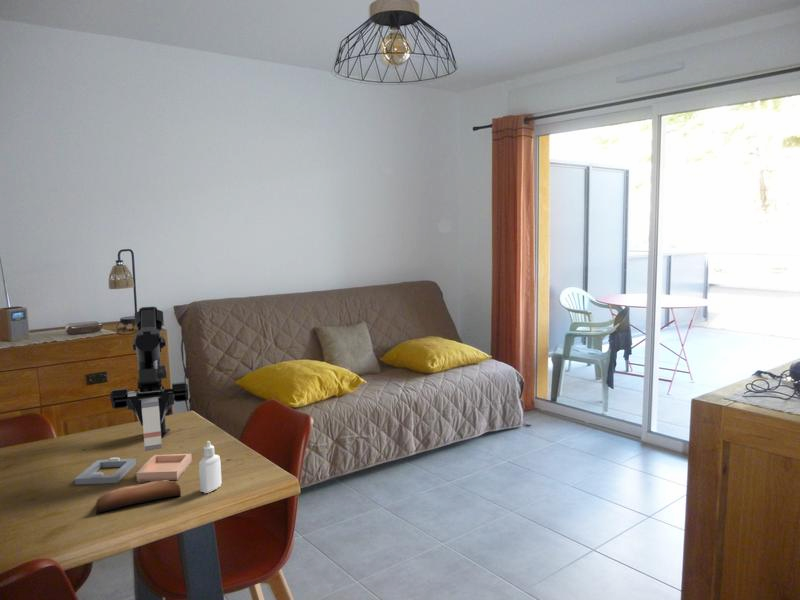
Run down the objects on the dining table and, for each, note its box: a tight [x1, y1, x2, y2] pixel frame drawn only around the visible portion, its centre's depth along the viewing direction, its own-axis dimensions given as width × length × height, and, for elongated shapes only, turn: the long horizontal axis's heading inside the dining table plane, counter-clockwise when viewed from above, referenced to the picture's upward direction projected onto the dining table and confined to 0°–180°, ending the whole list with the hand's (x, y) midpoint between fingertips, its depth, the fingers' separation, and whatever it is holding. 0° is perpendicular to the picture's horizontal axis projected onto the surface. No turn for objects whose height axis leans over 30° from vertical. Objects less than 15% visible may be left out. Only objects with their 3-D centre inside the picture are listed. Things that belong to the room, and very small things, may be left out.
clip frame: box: [74, 457, 137, 485], centre depth 152 cm, size 12×10×2 cm
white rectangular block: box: [141, 397, 163, 452], centre depth 151 cm, size 5×4×12 cm
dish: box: [135, 453, 193, 483], centre depth 153 cm, size 12×10×2 cm
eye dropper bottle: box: [198, 440, 223, 494], centre depth 141 cm, size 4×6×12 cm
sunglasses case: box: [95, 481, 182, 514], centre depth 137 cm, size 18×7×7 cm
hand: (151, 423), depth 150 cm, fingers closed on white rectangular block, 4 cm apart
